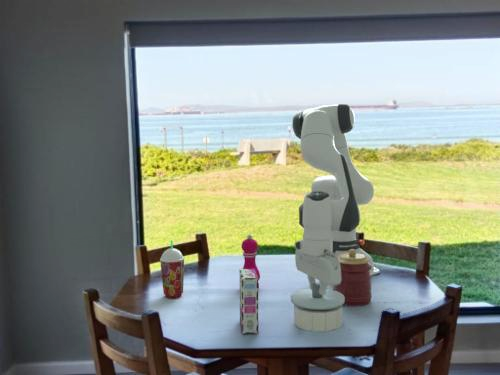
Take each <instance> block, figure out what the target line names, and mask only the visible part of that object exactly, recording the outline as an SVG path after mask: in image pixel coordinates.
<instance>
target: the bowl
mask: <svg viewBox="0 0 500 375" xmlns="http://www.w3.org/2000/svg"><path fill="white" fill-rule="evenodd" d="M293 321H294V322H293V324H294V326H295V327H298V328H299V329H302V330H306V331H309V332H329V330H330V331H334V330H333V329H335V330H338V329H339V328H340V327H341V325H342V326H343V305H342V306H340V307H337V308H333V309H325V310H314V309H306V308H302V307H298V306H296V305H294V304H293ZM338 327H339V328H338Z"/></svg>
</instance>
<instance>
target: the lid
mask: <svg viewBox="0 0 500 375" xmlns="http://www.w3.org/2000/svg"><path fill="white" fill-rule="evenodd" d="M320 285H321V284H320V282H319V283H317V282H316V283H314V284H312V290H311V289H310V288H303V289H298V290H295V291H293V292H292V293H291V294H290V302H291V304H293V306H294V305H296V306H298V307H302V308H306V309H314V310H325V309H333V308H337V307H340V306H342V307H343V304H344V302H345V297H344V295H343V294H341V293H340V292H337V291H334V290H333V289H328V288H326V294H325V295H320V294H318V288H320Z"/></svg>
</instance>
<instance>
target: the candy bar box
mask: <svg viewBox="0 0 500 375" xmlns="http://www.w3.org/2000/svg"><path fill="white" fill-rule="evenodd" d="M238 272H239V323H240V329H241V334H242V335H256V334H257V335H259V288H258V283H259V281H258V277H257V274H256V272H255V269H243V268H240V269H239V271H238Z"/></svg>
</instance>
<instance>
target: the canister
mask: <svg viewBox="0 0 500 375" xmlns="http://www.w3.org/2000/svg"><path fill="white" fill-rule="evenodd" d="M337 258H338V260H339V262H340V267H341V283H340V284H339V285H334V286H332V290H334V291H337V292H340V293H341V294H343V295H344V297H345V302H344V304H343V305H344V306H351V307H352V306H353V307H356V306H357V307H358V306H359V305H360V306H364V305H368V304H370V303H371V300H372V298H373V297H372V278H373V277H372V276H373V275H371V274H370V270H371V269H372V266H371V265H370V264H369V263H368V262H369V259H368V258H367V257H365V256H364V255H362V254H358V253H356V251H355V250H354V249H350V250H349V252H348V253H344V254H341V255H339V256H338V257H337ZM343 305H342V306H343Z"/></svg>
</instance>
